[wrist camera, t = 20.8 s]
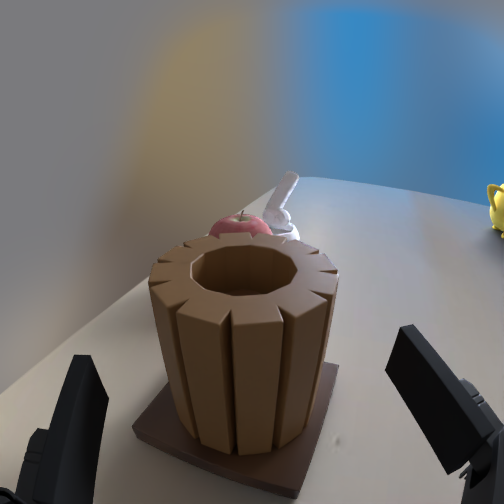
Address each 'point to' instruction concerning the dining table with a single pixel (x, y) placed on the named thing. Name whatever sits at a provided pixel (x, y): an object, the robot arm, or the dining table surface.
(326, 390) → the tape stand
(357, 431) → the dining table surface
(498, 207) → the teapot
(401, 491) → the dining table surface
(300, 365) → the wooden slatted pot
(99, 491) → the dining table surface
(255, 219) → the apple
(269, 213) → the hook
